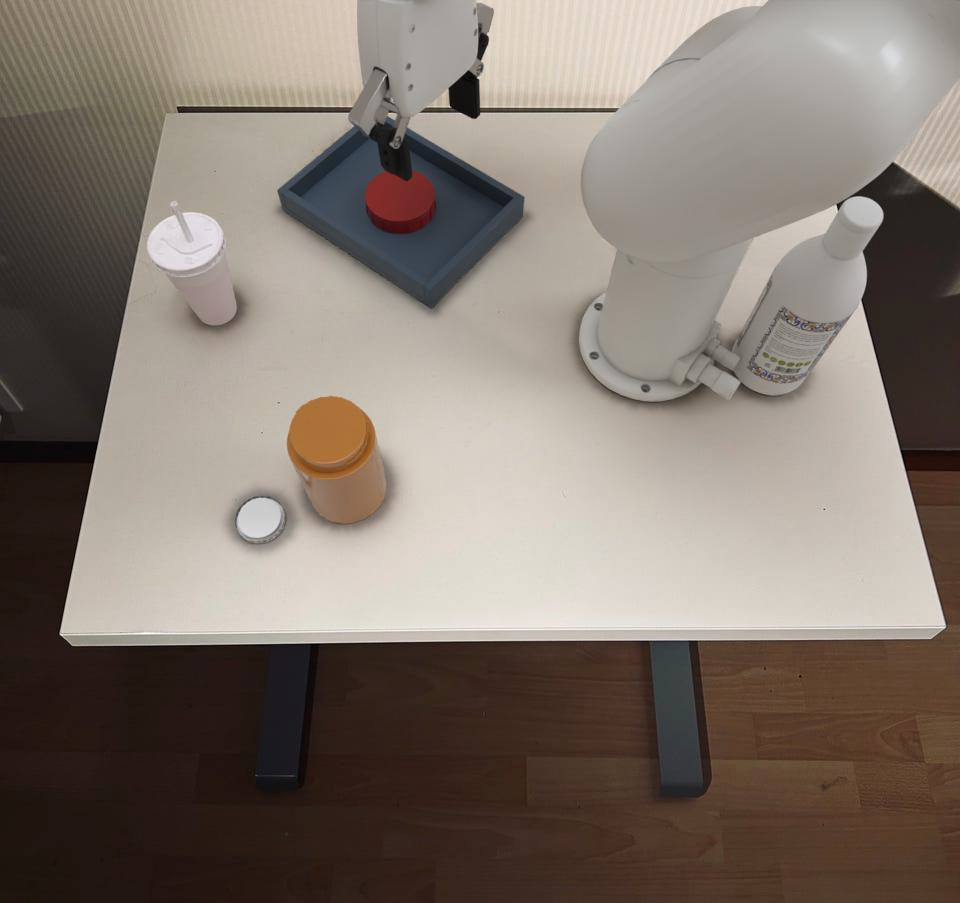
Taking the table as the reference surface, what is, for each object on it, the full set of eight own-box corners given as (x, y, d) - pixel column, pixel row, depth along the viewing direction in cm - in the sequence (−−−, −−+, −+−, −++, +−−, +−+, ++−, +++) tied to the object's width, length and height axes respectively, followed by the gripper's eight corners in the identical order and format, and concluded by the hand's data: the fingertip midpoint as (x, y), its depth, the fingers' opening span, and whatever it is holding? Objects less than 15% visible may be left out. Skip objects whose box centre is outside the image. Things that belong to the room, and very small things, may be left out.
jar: (402, 481, 68) (391, 422, 58) (350, 539, 66) (330, 487, 56) (345, 438, 70) (325, 374, 60) (292, 493, 67) (263, 435, 58)
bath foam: (817, 390, 72) (932, 241, 54) (745, 404, 72) (838, 258, 54) (787, 328, 75) (887, 167, 57) (718, 341, 75) (797, 182, 57)
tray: (523, 216, 81) (524, 196, 78) (431, 308, 76) (430, 290, 73) (377, 129, 86) (375, 108, 84) (282, 210, 81) (276, 190, 78)
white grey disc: (261, 552, 65) (260, 550, 64) (226, 524, 66) (224, 522, 65) (295, 515, 66) (293, 513, 66) (260, 489, 67) (258, 486, 67)
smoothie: (238, 343, 74) (191, 240, 61) (172, 331, 74) (112, 226, 62) (260, 288, 77) (219, 179, 64) (197, 277, 77) (144, 166, 65)
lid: (352, 210, 80) (350, 197, 78) (398, 171, 82) (397, 157, 81) (403, 245, 78) (402, 232, 76) (449, 204, 81) (449, 191, 79)
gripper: (448, -123, 61) (458, 74, 77) (292, -10, 55) (337, 180, 70) (527, -91, 59) (521, 105, 74) (373, 31, 53) (401, 217, 68)
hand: (431, 141), depth 72 cm, fingers open, 9 cm apart
